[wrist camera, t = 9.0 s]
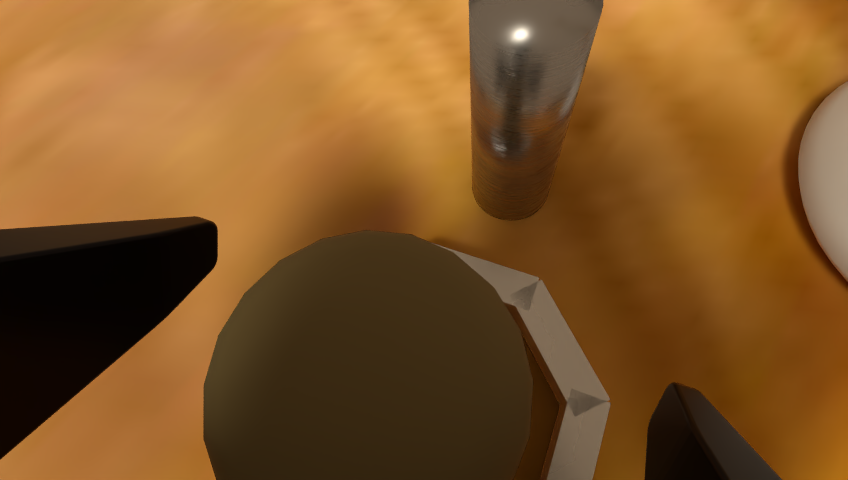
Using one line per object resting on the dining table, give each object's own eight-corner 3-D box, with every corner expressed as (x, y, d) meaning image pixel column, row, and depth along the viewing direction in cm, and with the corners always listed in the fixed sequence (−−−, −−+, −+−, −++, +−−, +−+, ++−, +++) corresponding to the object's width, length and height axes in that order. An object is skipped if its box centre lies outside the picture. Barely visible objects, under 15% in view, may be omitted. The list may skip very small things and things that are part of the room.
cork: (304, 395, 17) (60, 333, 7) (440, 292, 18) (398, 107, 8) (405, 558, 15) (262, 805, 5) (553, 432, 16) (688, 421, 6)
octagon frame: (536, 659, 14) (625, 993, 6) (227, 506, 16) (-36, 581, 8) (653, 189, 19) (793, -6, 10) (403, 123, 21) (356, -81, 13)
